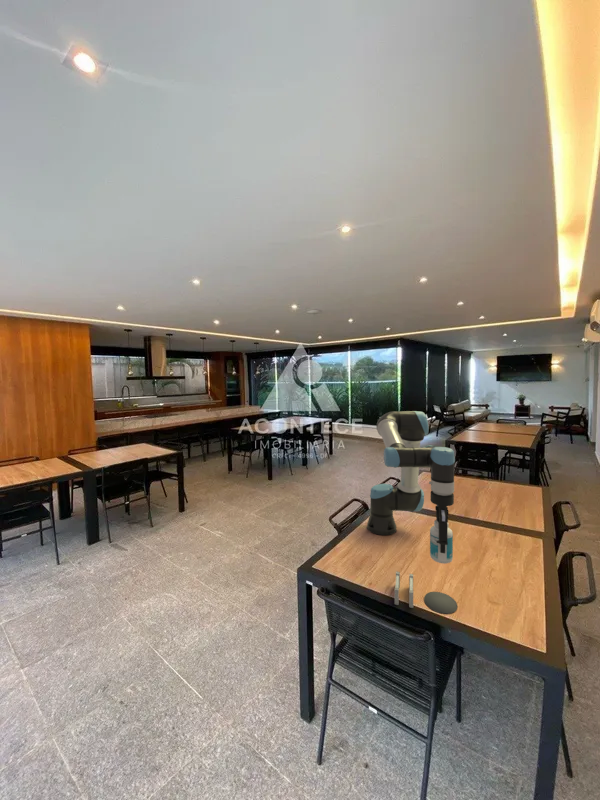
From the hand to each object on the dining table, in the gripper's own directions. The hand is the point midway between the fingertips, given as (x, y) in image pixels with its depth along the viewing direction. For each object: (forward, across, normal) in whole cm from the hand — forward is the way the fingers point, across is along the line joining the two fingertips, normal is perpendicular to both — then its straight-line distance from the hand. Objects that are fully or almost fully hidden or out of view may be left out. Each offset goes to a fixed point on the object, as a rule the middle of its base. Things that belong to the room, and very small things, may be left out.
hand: (441, 554), depth 117 cm
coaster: (+18, 0, 0) cm, 18 cm away
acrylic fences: (+18, 0, -12) cm, 22 cm away
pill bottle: (+2, 0, 0) cm, 2 cm away
